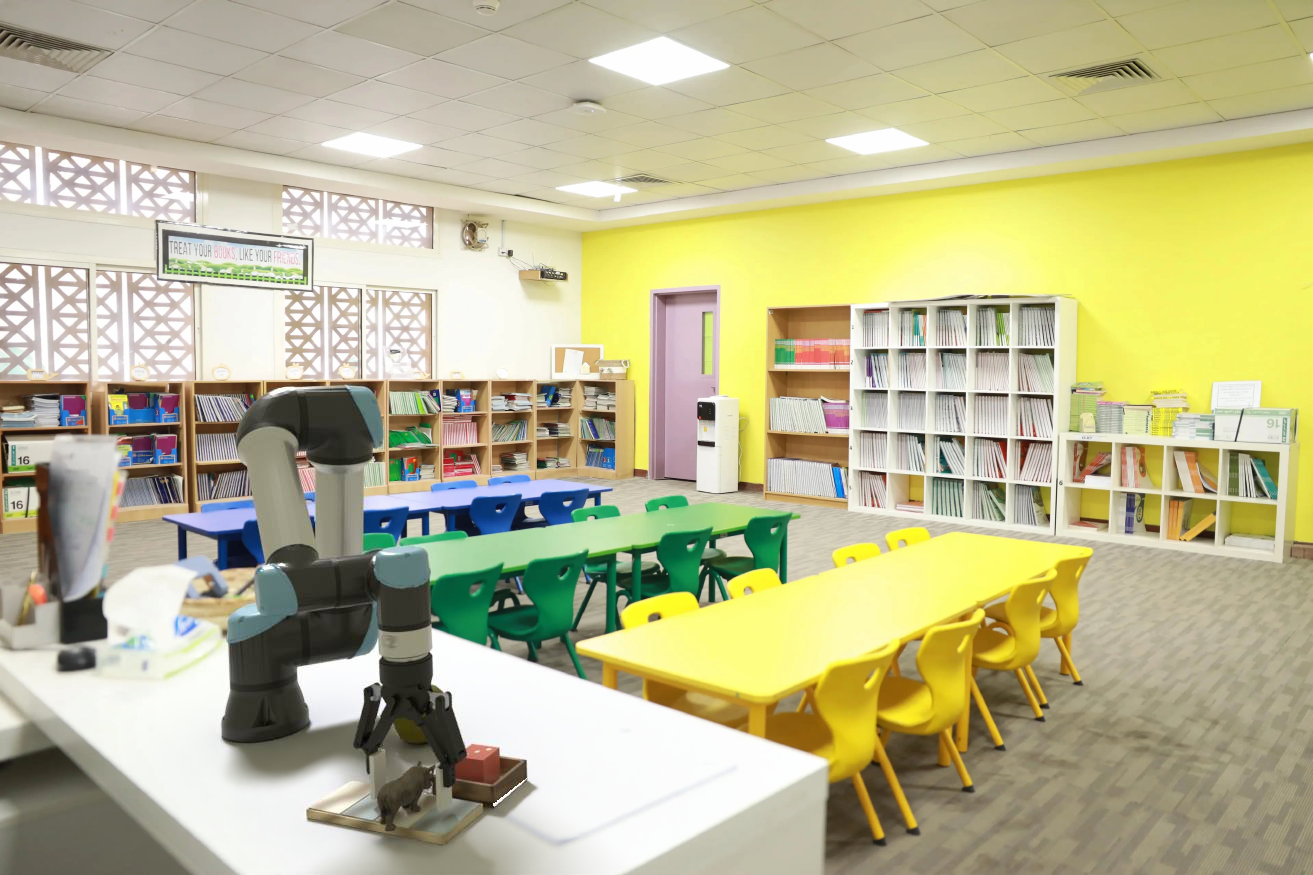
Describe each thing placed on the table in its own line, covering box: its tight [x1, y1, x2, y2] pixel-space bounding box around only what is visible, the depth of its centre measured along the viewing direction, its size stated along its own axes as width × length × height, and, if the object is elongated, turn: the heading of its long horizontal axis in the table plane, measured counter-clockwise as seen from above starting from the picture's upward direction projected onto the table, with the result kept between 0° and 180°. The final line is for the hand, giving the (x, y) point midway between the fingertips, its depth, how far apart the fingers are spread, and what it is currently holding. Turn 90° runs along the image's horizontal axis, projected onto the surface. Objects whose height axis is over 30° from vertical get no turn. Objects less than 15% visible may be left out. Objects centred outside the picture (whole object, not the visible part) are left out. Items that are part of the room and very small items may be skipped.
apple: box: [393, 684, 445, 745], centre depth 158 cm, size 10×10×11 cm
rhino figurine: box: [377, 760, 437, 831], centre depth 130 cm, size 4×14×6 cm, turn 162°
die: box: [455, 743, 501, 784], centre depth 139 cm, size 5×5×5 cm
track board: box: [305, 780, 484, 846], centre depth 131 cm, size 24×10×1 cm, turn 69°
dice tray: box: [431, 755, 528, 809], centre depth 139 cm, size 11×10×3 cm
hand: (411, 801), depth 130 cm, fingers open, 11 cm apart
